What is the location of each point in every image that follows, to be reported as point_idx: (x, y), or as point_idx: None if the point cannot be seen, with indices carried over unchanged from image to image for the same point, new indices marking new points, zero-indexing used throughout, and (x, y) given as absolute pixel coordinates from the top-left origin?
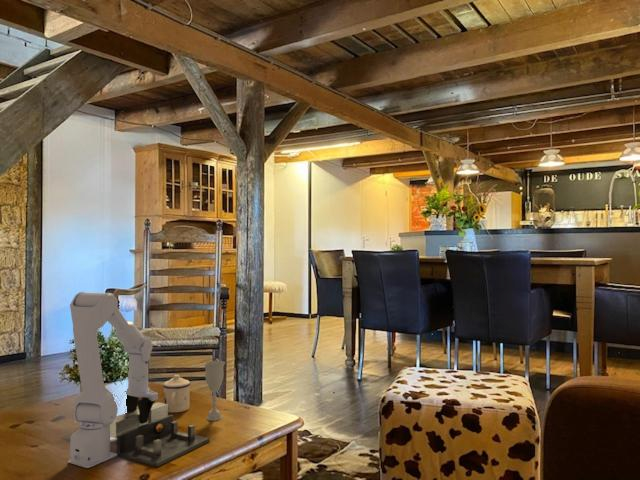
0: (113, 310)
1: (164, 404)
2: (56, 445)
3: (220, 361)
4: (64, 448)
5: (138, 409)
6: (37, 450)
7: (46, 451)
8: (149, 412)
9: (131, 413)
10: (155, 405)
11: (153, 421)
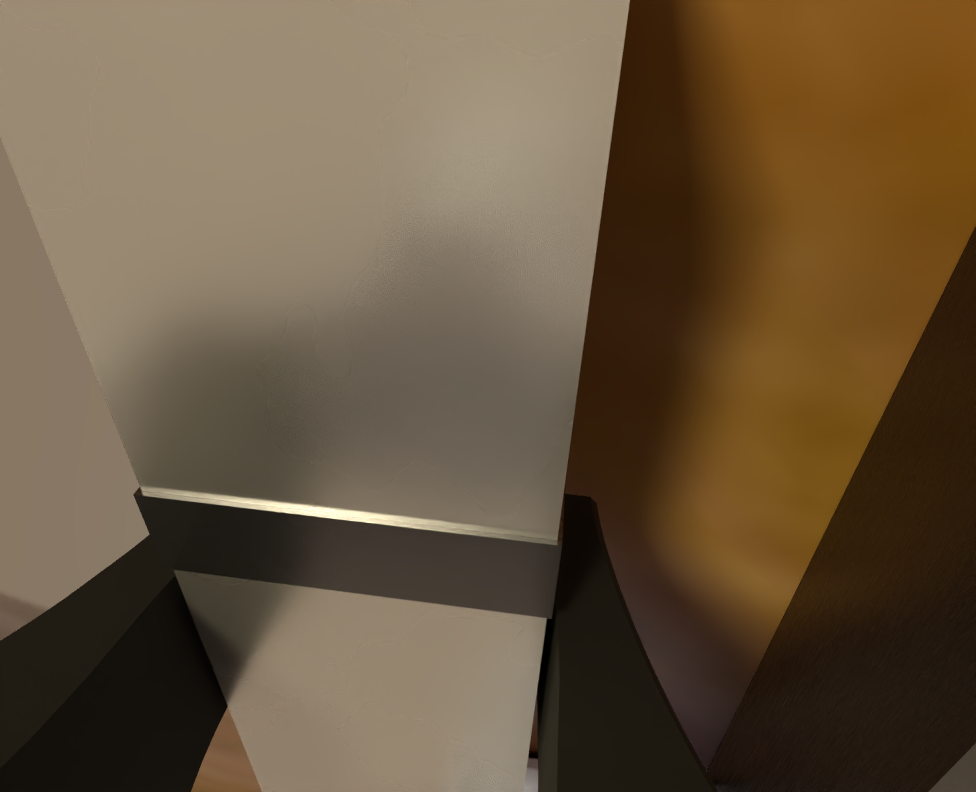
0: None
1: None
2: None
3: None
4: (236, 750)
5: (215, 580)
6: None
7: (200, 784)
8: (640, 645)
9: (353, 754)
10: (244, 81)
11: (955, 773)
